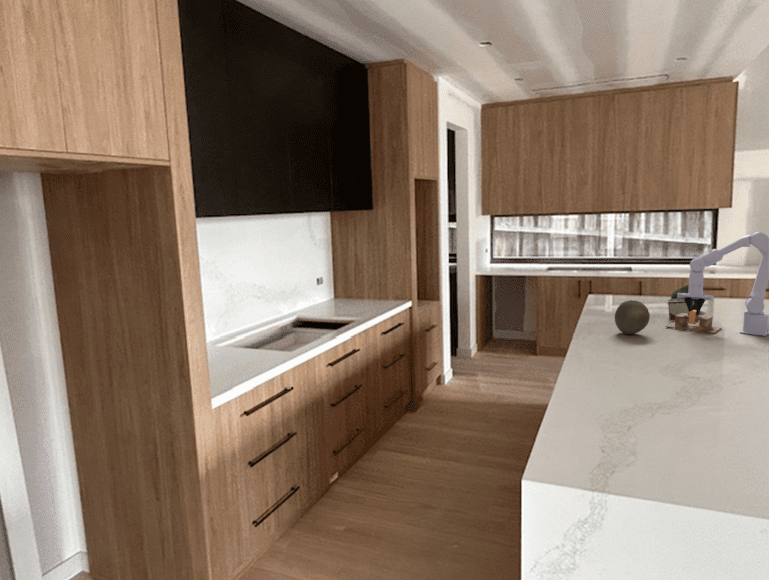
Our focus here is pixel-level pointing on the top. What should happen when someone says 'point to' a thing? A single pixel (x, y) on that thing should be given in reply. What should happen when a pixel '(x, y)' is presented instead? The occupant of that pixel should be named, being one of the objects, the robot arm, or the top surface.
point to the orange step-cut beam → (693, 317)
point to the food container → (677, 307)
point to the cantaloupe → (631, 317)
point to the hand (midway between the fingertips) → (694, 314)
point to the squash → (684, 290)
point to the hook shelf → (703, 326)
